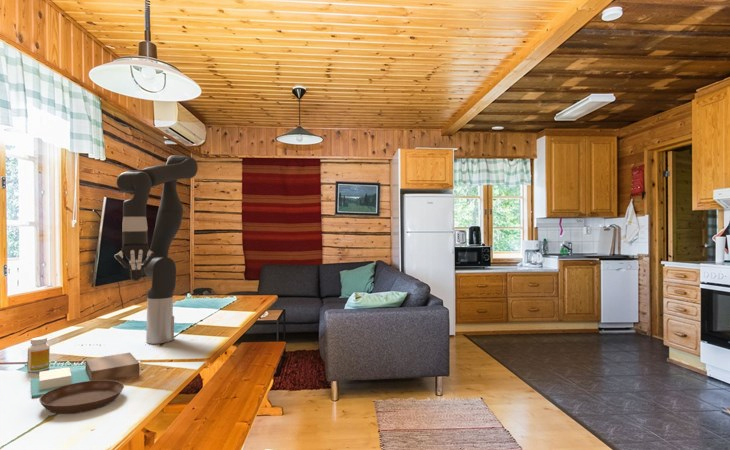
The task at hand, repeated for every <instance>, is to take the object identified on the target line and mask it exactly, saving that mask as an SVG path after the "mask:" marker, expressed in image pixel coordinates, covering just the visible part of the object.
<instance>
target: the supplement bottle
mask: <svg viewBox="0 0 730 450" xmlns="http://www.w3.org/2000/svg"><path fill="white" fill-rule="evenodd" d="M30 344H31V345H29V346H28V348H27V363H26V364H27V367H26V368H27V372H28V373H39V372H42V371H48V370H49V368H50V350H51V349H50V344H48V337H46V336H39V337H38V336H37V337H33V338H31V339H30Z"/></svg>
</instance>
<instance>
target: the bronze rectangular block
mask: <svg viewBox="0 0 730 450" xmlns="http://www.w3.org/2000/svg"><path fill="white" fill-rule="evenodd" d="M84 370H85V371H86V373H87V375H88V377H89V380H90V381H95V380H111V381H117V382H120V381H124V380H129V379H134V378H140V362H139V360H137V358H136V357H135V356H133V354H132V352H125V353H118V354H112V355H111V354H110V355H106V356H100V357H93V358H86V359H85V369H84Z"/></svg>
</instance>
